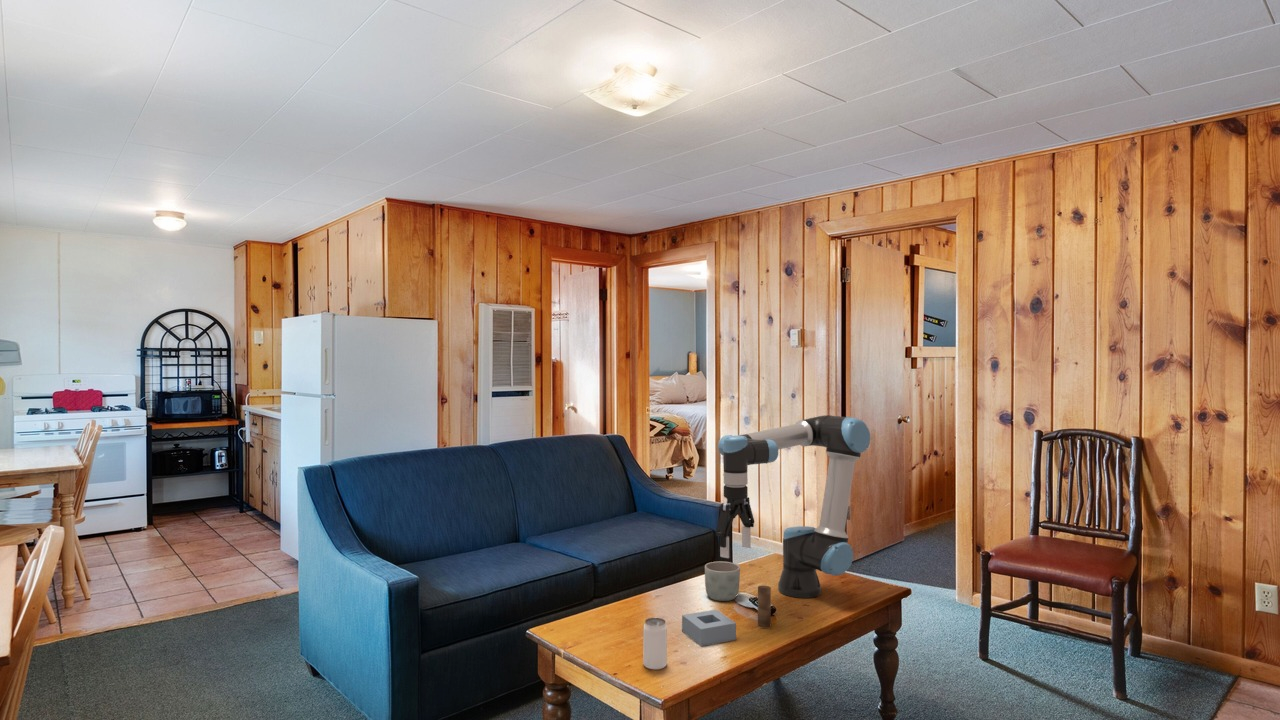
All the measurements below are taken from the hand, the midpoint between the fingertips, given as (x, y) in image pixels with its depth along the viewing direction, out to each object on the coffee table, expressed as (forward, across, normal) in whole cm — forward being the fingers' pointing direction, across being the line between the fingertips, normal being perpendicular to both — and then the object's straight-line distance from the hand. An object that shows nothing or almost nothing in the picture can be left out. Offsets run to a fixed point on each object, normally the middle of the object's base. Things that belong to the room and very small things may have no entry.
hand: (735, 552), depth 217 cm
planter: (+23, -19, -16) cm, 34 cm away
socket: (+23, +13, -2) cm, 26 cm away
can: (+23, +39, -3) cm, 45 cm away
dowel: (+23, -5, +7) cm, 25 cm away
